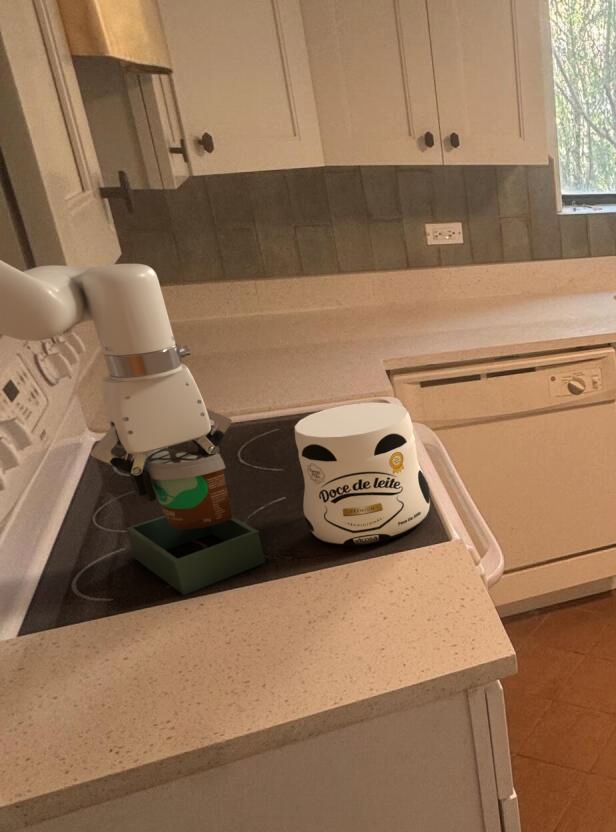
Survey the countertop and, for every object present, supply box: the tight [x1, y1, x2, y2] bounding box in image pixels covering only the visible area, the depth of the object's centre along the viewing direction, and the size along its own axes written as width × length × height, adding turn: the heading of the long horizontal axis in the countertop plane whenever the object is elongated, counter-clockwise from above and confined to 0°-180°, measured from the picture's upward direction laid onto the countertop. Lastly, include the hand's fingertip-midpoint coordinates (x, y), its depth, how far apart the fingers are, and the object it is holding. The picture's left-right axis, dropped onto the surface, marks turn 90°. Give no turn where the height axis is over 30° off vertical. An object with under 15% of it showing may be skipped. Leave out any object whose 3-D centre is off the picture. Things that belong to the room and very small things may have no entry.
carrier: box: [125, 515, 266, 596], centre depth 110 cm, size 16×10×6 cm, turn 55°
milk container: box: [294, 402, 431, 547], centre depth 117 cm, size 17×17×18 cm
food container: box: [143, 447, 233, 529], centre depth 106 cm, size 12×6×10 cm, turn 67°
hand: (179, 487), depth 107 cm, fingers closed on food container, 6 cm apart
